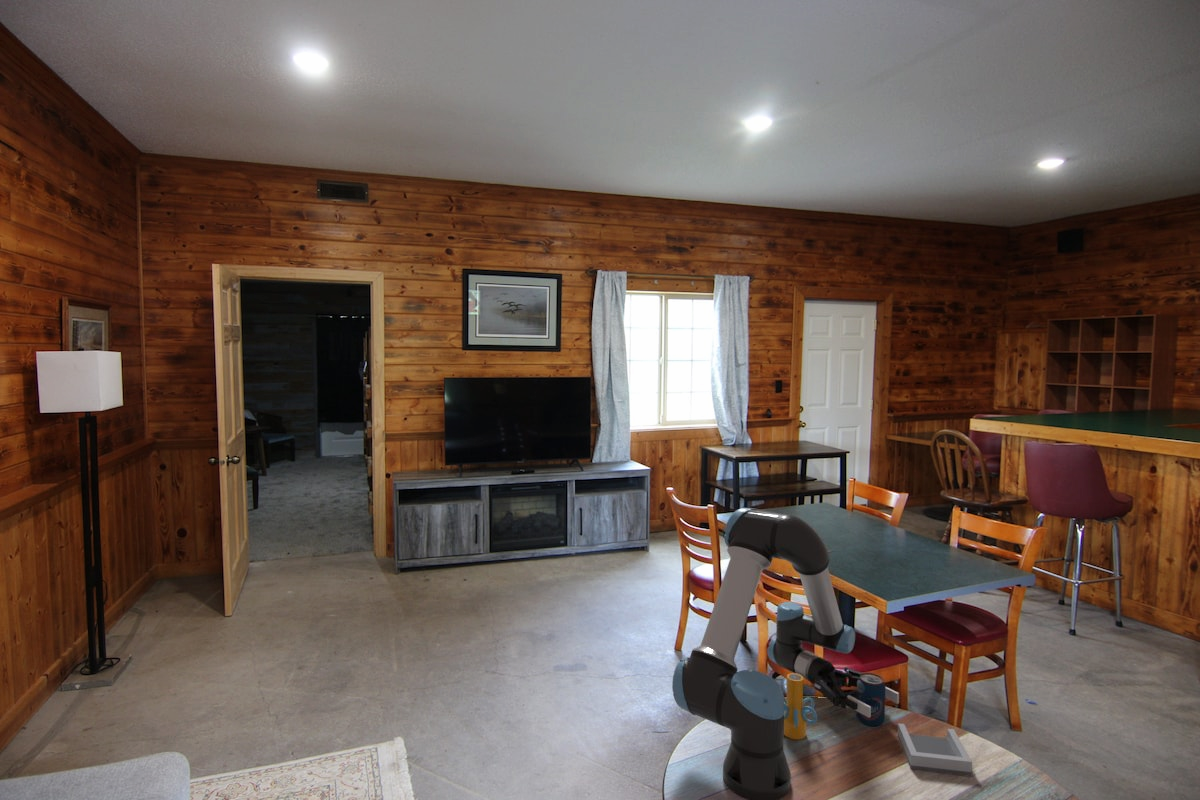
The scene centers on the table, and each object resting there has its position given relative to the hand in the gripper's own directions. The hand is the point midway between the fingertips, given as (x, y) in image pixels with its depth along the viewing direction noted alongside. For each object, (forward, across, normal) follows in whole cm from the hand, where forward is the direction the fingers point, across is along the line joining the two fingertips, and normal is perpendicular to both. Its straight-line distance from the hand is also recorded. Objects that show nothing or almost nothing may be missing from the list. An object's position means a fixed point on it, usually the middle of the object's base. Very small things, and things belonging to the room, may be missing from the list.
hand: (884, 705), depth 168 cm
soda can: (-4, 0, -7) cm, 8 cm away
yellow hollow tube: (-11, +21, -7) cm, 24 cm away
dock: (+13, 0, -6) cm, 15 cm away
